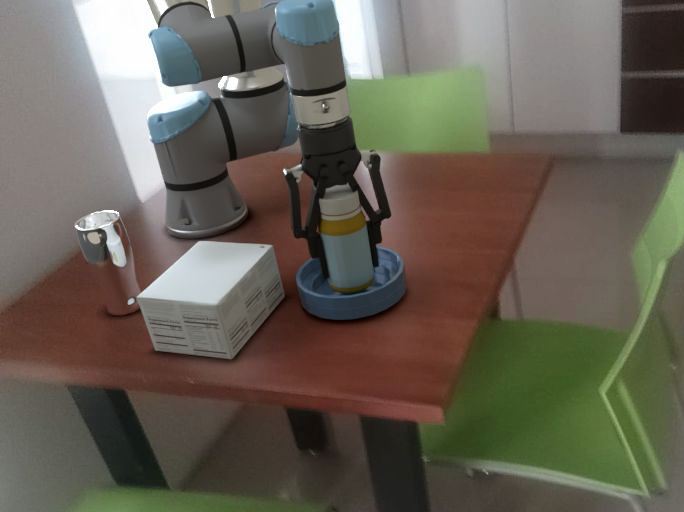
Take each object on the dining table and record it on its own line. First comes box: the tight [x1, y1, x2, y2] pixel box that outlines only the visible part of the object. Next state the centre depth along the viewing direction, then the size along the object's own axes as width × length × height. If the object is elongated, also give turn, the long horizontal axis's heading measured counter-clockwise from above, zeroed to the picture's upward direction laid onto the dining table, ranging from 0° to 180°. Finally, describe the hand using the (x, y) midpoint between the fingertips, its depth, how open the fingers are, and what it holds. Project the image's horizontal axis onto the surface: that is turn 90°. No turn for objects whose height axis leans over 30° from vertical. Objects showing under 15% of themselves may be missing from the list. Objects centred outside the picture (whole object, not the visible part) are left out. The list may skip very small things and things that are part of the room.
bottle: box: [317, 183, 375, 294], centre depth 115 cm, size 7×7×15 cm
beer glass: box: [73, 210, 143, 317], centre depth 121 cm, size 7×7×15 cm
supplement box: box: [136, 240, 286, 360], centre depth 115 cm, size 17×13×9 cm
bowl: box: [295, 245, 408, 321], centre depth 119 cm, size 16×16×4 cm
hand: (349, 268), depth 118 cm, fingers closed on bottle, 7 cm apart
